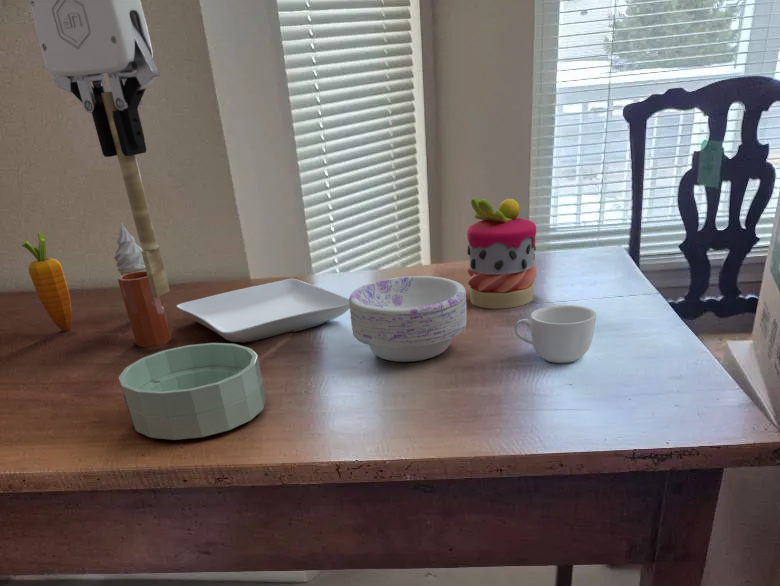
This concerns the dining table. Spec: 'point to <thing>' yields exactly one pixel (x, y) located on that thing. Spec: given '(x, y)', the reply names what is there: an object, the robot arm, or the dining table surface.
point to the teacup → (560, 332)
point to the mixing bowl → (193, 390)
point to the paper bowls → (408, 316)
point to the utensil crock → (144, 310)
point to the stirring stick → (139, 208)
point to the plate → (266, 310)
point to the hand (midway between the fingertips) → (125, 153)
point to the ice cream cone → (128, 253)
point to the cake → (501, 256)
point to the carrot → (50, 285)
